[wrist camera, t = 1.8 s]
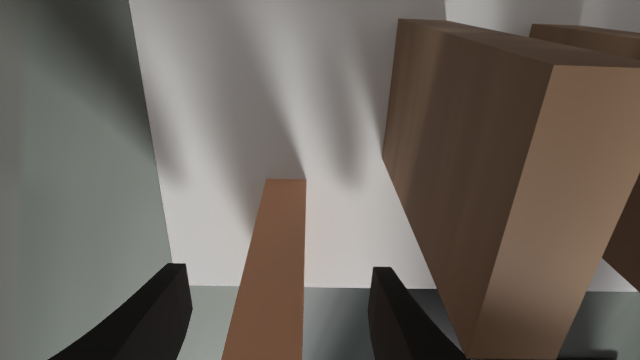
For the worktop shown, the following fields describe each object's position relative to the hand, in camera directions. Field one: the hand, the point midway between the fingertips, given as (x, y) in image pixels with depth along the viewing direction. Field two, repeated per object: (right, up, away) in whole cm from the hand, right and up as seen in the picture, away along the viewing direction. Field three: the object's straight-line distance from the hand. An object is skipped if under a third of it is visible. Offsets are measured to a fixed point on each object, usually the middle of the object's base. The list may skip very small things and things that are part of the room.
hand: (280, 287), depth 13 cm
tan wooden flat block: (0, +1, +3) cm, 3 cm away
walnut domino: (+5, +7, +1) cm, 8 cm away
